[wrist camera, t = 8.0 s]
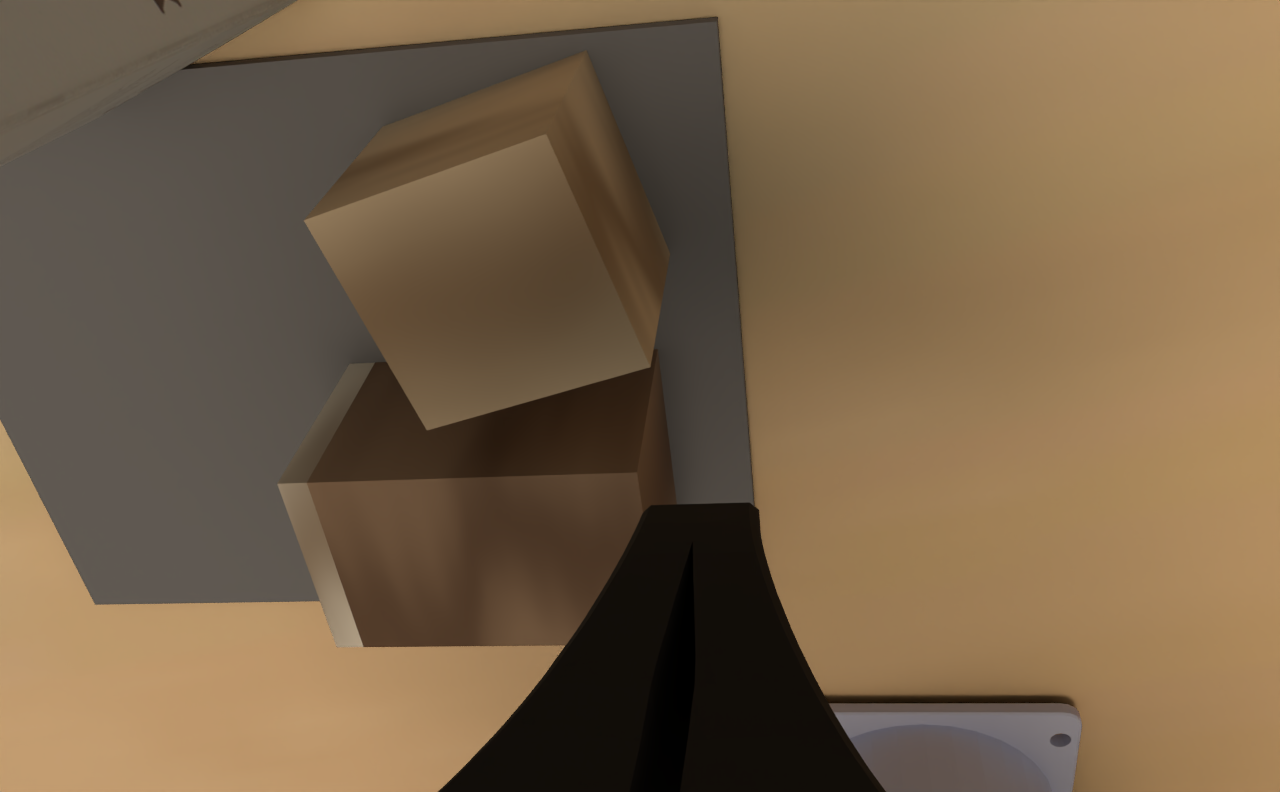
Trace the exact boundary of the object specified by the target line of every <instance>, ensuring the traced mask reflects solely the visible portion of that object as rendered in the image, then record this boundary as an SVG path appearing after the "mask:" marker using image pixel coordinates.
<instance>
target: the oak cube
mask: <svg viewBox="0 0 1280 792" xmlns="http://www.w3.org/2000/svg"><path fill="white" fill-rule="evenodd" d="M304 222H305V224H306V225H307V227H308V229H309V230H310V232H311V234H312V235H313V237H314V239H315V241H316V242H317V244H318V246H319V247H320V249H321V251H322V253H323V254H324V256H325V258H326V259H327V261H328V263H329V264H330V266H331V268H332V270H333V271H334V273H335V275H336V276H337V278H338V280H339V281H340V283H341V285H342V287H343V288H344V290H345V292H346V293H347V295H348V297H349V299H350V300H351V302H352V304H353V305H354V307H355V309H356V310H357V312H358V314H359V316H360V317H361V319H362V321H363V322H364V324H365V326H366V328H367V329H368V331H369V333H370V334H371V336H372V338H373V339H374V341H375V343H376V345H377V346H378V348H379V350H380V351H381V353H382V355H383V356H384V358H385V360H386V362H387V363H388V365H389V367H390V368H391V370H392V372H393V374H394V375H395V377H396V379H397V380H398V382H399V384H400V385H401V387H402V389H403V391H404V392H405V394H406V396H407V397H408V399H409V401H410V403H411V404H412V406H413V408H414V409H415V411H416V413H417V414H418V416H419V418H420V420H421V421H422V423H423V425H424V426H425V428H426V430H431V429H434V428H438V427H441V426H445V425H448V424H452V423H455V422H459V421H462V420H466V419H469V418H473V417H476V416H480V415H483V414H487V413H490V412H494V411H497V410H501V409H505V408H508V407H512V406H515V405H519V404H522V403H526V402H529V401H533V400H536V399H540V398H543V397H547V396H550V395H554V394H557V393H561V392H564V391H568V390H572V389H575V388H579V387H582V386H586V385H589V384H593V383H596V382H600V381H603V380H607V379H610V378H614V377H617V376H621V375H624V374H628V373H631V372H635V371H639V370H642V369H646V368H649V367H651V361H652V355H653V350H654V344H655V338H656V332H657V327H658V321H659V315H660V310H661V304H662V298H663V292H664V287H665V281H666V275H667V269H668V264H669V258H670V252H669V249H668V247H667V245H666V242H665V240H664V237H663V235H662V232H661V230H660V228H659V225H658V223H657V220H656V218H655V215H654V213H653V211H652V208H651V206H650V203H649V201H648V198H647V196H646V194H645V191H644V189H643V186H642V184H641V181H640V179H639V177H638V174H637V172H636V169H635V167H634V164H633V162H632V160H631V157H630V155H629V152H628V150H627V147H626V145H625V143H624V140H623V138H622V135H621V133H620V130H619V128H618V126H617V123H616V121H615V118H614V116H613V113H612V111H611V109H610V106H609V104H608V101H607V99H606V96H605V94H604V92H603V89H602V87H601V84H600V82H599V79H598V77H597V75H596V72H595V70H594V67H593V65H592V62H591V60H590V58H589V55H588V53H587V50H585V51H583V52H580V53H577V54H575V55H572V56H569V57H567V58H564V59H561V60H559V61H556V62H553V63H551V64H548V65H545V66H543V67H540V68H537V69H535V70H532V71H529V72H527V73H524V74H521V75H519V76H516V77H513V78H511V79H508V80H505V81H503V82H500V83H498V84H495V85H492V86H490V87H487V88H484V89H482V90H479V91H476V92H474V93H471V94H468V95H466V96H463V97H460V98H458V99H455V100H452V101H450V102H447V103H444V104H442V105H439V106H436V107H434V108H431V109H428V110H426V111H423V112H420V113H418V114H415V115H412V116H410V117H407V118H404V119H402V120H399V121H396V122H394V123H391V124H388V125H386V126H383V127H382V128H381V129H380V130H379V131H378V132H377V134H376V135H375V136H374V137H373V138H372V140H371V141H370V142H369V143H368V144H367V146H366V147H365V148H364V149H363V150H362V152H361V153H360V154H359V155H358V156H357V157H356V159H355V160H354V161H353V162H352V163H351V165H350V166H349V167H348V168H347V169H346V171H345V172H344V173H343V174H342V175H341V177H340V178H339V179H338V180H337V181H336V183H335V184H334V185H333V186H332V187H331V189H330V190H329V191H328V192H327V193H326V194H325V196H324V197H323V198H322V199H321V200H320V202H319V203H318V204H317V205H316V206H315V208H314V209H313V210H312V211H311V212H310V214H309V215H308V216H307V217H306V218H305V220H304Z"/></svg>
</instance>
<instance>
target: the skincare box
mask: <svg viewBox="0 0 1280 792" xmlns="http://www.w3.org/2000/svg"><path fill="white" fill-rule="evenodd" d="M295 1H297V0H0V166H2V165H4V164H6V163H8V162H10V161H12V160H14V159H16V158H18V157H20V156H22V155H24V154H26V153H28V152H30V151H32V150H34V149H36V148H38V147H40V146H42V145H44V144H46V143H48V142H50V141H52V140H54V139H56V138H58V137H60V136H63V135H65V134H67V133H69V132H71V131H73V130H75V129H77V128H79V127H81V126H83V125H85V124H86V123H88V122H90V121H92V120H94V119H96V118H98V117H100V116H102V115H104V114H106V113H107V112H109V111H111V110H112V109H114V108H116V107H117V106H119V105H121V104H123V103H124V102H126V101H128V100H129V99H131V98H133V97H135V96H136V95H138V94H140V93H141V92H143V91H145V90H146V89H148V88H150V87H152V86H153V85H155V84H157V83H158V82H160V81H162V80H164V79H165V78H167V77H169V76H170V75H172V74H174V73H176V72H177V71H179V70H181V69H182V68H184V67H186V66H188V65H189V64H191V63H193V62H194V61H196V60H198V59H200V58H201V57H203V56H205V55H206V54H208V53H210V52H212V51H213V50H215V49H217V48H218V47H220V46H222V45H224V44H225V43H227V42H229V41H230V40H232V39H234V38H235V37H237V36H239V35H240V34H242V33H244V32H245V31H247V30H249V29H250V28H252V27H254V26H255V25H257V24H259V23H260V22H262V21H264V20H265V19H267V18H269V17H270V16H272V15H274V14H275V13H277V12H279V11H280V10H282V9H284V8H285V7H287V6H289V5H290V4H292V3H294V2H295Z"/></svg>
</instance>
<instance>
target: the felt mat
mask: <svg viewBox="0 0 1280 792" xmlns="http://www.w3.org/2000/svg"><path fill="white" fill-rule="evenodd" d="M585 50H587V53H588V55H589V58H590V60H591V62H592V65H593V67H594V70H595V72H596V75H597V77H598V79H599V82H600V84H601V87H602V89H603V92H604V94H605V96H606V99H607V101H608V104H609V106H610V109H611V111H612V113H613V116H614V118H615V121H616V123H617V126H618V128H619V130H620V133H621V135H622V138H623V140H624V143H625V145H626V147H627V150H628V152H629V155H630V157H631V160H632V162H633V164H634V167H635V169H636V172H637V174H638V177H639V179H640V181H641V184H642V186H643V189H644V191H645V194H646V196H647V198H648V201H649V203H650V206H651V208H652V211H653V213H654V215H655V218H656V220H657V223H658V225H659V228H660V230H661V232H662V235H663V237H664V240H665V242H666V245H667V247H668V249H669V252H670V258H669V264H668V269H667V275H666V281H665V287H664V292H663V298H662V304H661V310H660V315H659V321H658V327H657V332H656V338H655V344H654V349H658V355H659V363H660V371H661V379H662V387H663V395H664V404H665V412H666V420H667V428H668V436H669V444H670V452H671V461H672V469H673V477H674V485H675V493H676V501H677V504H709V503H746V502H749V503H751V504H752V505H753V506H754V493H753V480H752V467H751V453H750V440H749V427H748V414H747V400H746V387H745V374H744V361H743V347H742V334H741V321H740V308H739V294H738V281H737V268H736V255H735V241H734V228H733V215H732V202H731V189H730V175H729V162H728V149H727V136H726V122H725V109H724V96H723V83H722V69H721V56H720V43H719V30H718V17H712V18H701V19H690V20H679V21H668V22H657V23H646V24H635V25H624V26H613V27H602V28H591V29H580V30H569V31H558V32H547V33H536V34H525V35H514V36H503V37H492V38H481V39H470V40H459V41H448V42H437V43H426V44H415V45H404V46H393V47H382V48H371V49H360V50H349V51H338V52H327V53H316V54H305V55H294V56H283V57H272V58H261V59H250V60H239V61H228V62H217V63H206V64H195V65H188V66H186V67H184V68H182V69H181V70H179V71H177V72H176V73H174V74H172V75H170V76H169V77H167V78H165V79H164V80H162V81H160V82H158V83H157V84H155V85H153V86H152V87H150V88H148V89H146V90H145V91H143V92H141V93H140V94H138V95H136V96H135V97H133V98H131V99H129V100H128V101H126V102H124V103H123V104H121V105H119V106H117V107H116V108H114V109H112V110H111V111H109V112H107V113H106V114H104V115H102V116H100V117H98V118H96V119H94V120H92V121H90V122H88V123H86V124H85V125H83V126H81V127H79V128H77V129H75V130H73V131H71V132H69V133H67V134H65V135H63V136H60V137H58V138H56V139H54V140H52V141H50V142H48V143H46V144H44V145H42V146H40V147H38V148H36V149H34V150H32V151H30V152H28V153H26V154H24V155H22V156H20V157H18V158H16V159H14V160H12V161H10V162H8V163H6V164H4V165H2V166H0V420H1V422H2V424H3V426H4V428H5V430H6V432H7V434H8V435H9V437H10V439H11V441H12V443H13V445H14V447H15V449H16V451H17V453H18V455H19V457H20V459H21V461H22V463H23V465H24V467H25V469H26V471H27V472H28V474H29V476H30V478H31V480H32V482H33V484H34V486H35V488H36V490H37V492H38V494H39V496H40V498H41V500H42V502H43V504H44V506H45V508H46V510H47V511H48V513H49V515H50V517H51V519H52V521H53V523H54V525H55V527H56V529H57V531H58V533H59V535H60V537H61V539H62V541H63V543H64V545H65V547H66V548H67V550H68V552H69V554H70V556H71V558H72V560H73V562H74V564H75V566H76V568H77V570H78V572H79V574H80V576H81V578H82V580H83V582H84V584H85V586H86V587H87V589H88V591H89V593H90V595H91V597H92V599H93V601H94V603H95V605H97V604H163V603H229V602H296V601H320V600H319V597H318V594H317V592H316V589H315V586H314V583H313V581H312V578H311V575H310V572H309V570H308V567H307V564H306V561H305V559H304V556H303V553H302V550H301V548H300V545H299V542H298V540H297V537H296V534H295V531H294V529H293V526H292V523H291V520H290V518H289V515H288V512H287V509H286V507H285V504H284V501H283V498H282V496H281V493H280V490H279V487H278V485H277V483H278V482H279V480H280V478H281V477H282V475H283V473H284V472H285V470H286V468H287V467H288V465H289V463H290V462H291V460H292V458H293V457H294V455H295V453H296V452H297V450H298V448H299V447H300V445H301V443H302V442H303V440H304V438H305V437H306V435H307V433H308V432H309V430H310V429H311V427H312V425H313V424H314V422H315V420H316V419H317V417H318V415H319V414H320V412H321V410H322V409H323V407H324V405H325V404H326V402H327V400H328V399H329V397H330V395H331V394H332V392H333V390H334V389H335V387H336V385H337V384H338V382H339V380H340V379H341V377H342V375H343V374H344V372H345V370H346V369H347V367H348V365H349V364H355V363H376V362H386V360H385V358H384V356H383V355H382V353H381V351H380V350H379V348H378V346H377V345H376V343H375V341H374V339H373V338H372V336H371V334H370V333H369V331H368V329H367V328H366V326H365V324H364V322H363V321H362V319H361V317H360V316H359V314H358V312H357V310H356V309H355V307H354V305H353V304H352V302H351V300H350V299H349V297H348V295H347V293H346V292H345V290H344V288H343V287H342V285H341V283H340V281H339V280H338V278H337V276H336V275H335V273H334V271H333V270H332V268H331V266H330V264H329V263H328V261H327V259H326V258H325V256H324V254H323V253H322V251H321V249H320V247H319V246H318V244H317V242H316V241H315V239H314V237H313V235H312V234H311V232H310V230H309V229H308V227H307V225H306V224H305V222H304V220H305V218H306V217H307V216H308V215H309V214H310V212H311V211H312V210H313V209H314V208H315V206H316V205H317V204H318V203H319V202H320V200H321V199H322V198H323V197H324V196H325V194H326V193H327V192H328V191H329V190H330V189H331V187H332V186H333V185H334V184H335V183H336V181H337V180H338V179H339V178H340V177H341V175H342V174H343V173H344V172H345V171H346V169H347V168H348V167H349V166H350V165H351V163H352V162H353V161H354V160H355V159H356V157H357V156H358V155H359V154H360V153H361V152H362V150H363V149H364V148H365V147H366V146H367V144H368V143H369V142H370V141H371V140H372V138H373V137H374V136H375V135H376V134H377V132H378V131H379V130H380V129H381V128H382V127H383V126H386V125H388V124H391V123H394V122H396V121H399V120H402V119H404V118H407V117H410V116H412V115H415V114H418V113H420V112H423V111H426V110H428V109H431V108H434V107H436V106H439V105H442V104H444V103H447V102H450V101H452V100H455V99H458V98H460V97H463V96H466V95H468V94H471V93H474V92H476V91H479V90H482V89H484V88H487V87H490V86H492V85H495V84H498V83H500V82H503V81H505V80H508V79H511V78H513V77H516V76H519V75H521V74H524V73H527V72H529V71H532V70H535V69H537V68H540V67H543V66H545V65H548V64H551V63H553V62H556V61H559V60H561V59H564V58H567V57H569V56H572V55H575V54H577V53H580V52H583V51H585Z"/></svg>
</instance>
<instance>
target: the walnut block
mask: <svg viewBox="0 0 1280 792" xmlns="http://www.w3.org/2000/svg"><path fill="white" fill-rule="evenodd" d="M277 485H278V487H279V490H280V493H281V496H282V498H283V501H284V504H285V507H286V509H287V512H288V515H289V518H290V520H291V523H292V526H293V529H294V531H295V534H296V537H297V540H298V542H299V545H300V548H301V550H302V553H303V556H304V559H305V561H306V564H307V567H308V570H309V572H310V575H311V578H312V581H313V583H314V586H315V589H316V592H317V594H318V597H319V600H320V603H321V605H322V608H323V611H324V614H325V616H326V619H327V622H328V625H329V627H330V630H331V633H332V636H333V638H334V641H335V644H336V646H337V647H422V646H538V645H566V644H567V643H568V642H569V640H570V639H571V637H572V636H573V635H574V633H575V632H576V630H577V629H578V627H579V626H580V624H581V623H582V621H583V620H584V618H585V617H586V615H587V613H588V612H589V610H590V609H591V607H592V605H593V604H594V602H595V601H596V599H597V597H598V596H599V594H600V593H601V591H602V589H603V588H604V586H605V584H606V583H607V581H608V579H609V578H610V576H611V574H612V572H613V571H614V569H615V567H616V565H617V564H618V562H619V560H620V558H621V556H622V555H623V553H624V551H625V549H626V547H627V545H628V543H629V541H630V539H631V537H632V535H633V533H634V531H635V529H636V527H637V525H638V523H639V520H640V518H641V516H642V514H643V512H644V511H645V510H646V509H647V508H648V507H649V506H651V505H672V504H677V501H676V493H675V485H674V477H673V469H672V461H671V452H670V444H669V436H668V428H667V420H666V412H665V404H664V395H663V387H662V379H661V371H660V363H659V355H658V349H654V350H653V355H652V361H651V367H649V368H646V369H642V370H639V371H635V372H631V373H628V374H624V375H621V376H617V377H614V378H610V379H607V380H603V381H600V382H596V383H593V384H589V385H586V386H582V387H579V388H575V389H572V390H568V391H564V392H561V393H557V394H554V395H550V396H547V397H543V398H540V399H536V400H533V401H529V402H526V403H522V404H519V405H515V406H512V407H508V408H505V409H501V410H497V411H494V412H490V413H487V414H483V415H480V416H476V417H473V418H469V419H466V420H462V421H459V422H455V423H452V424H448V425H445V426H441V427H438V428H434V429H431V430H426V428H425V426H424V425H423V423H422V421H421V420H420V418H419V416H418V414H417V413H416V411H415V409H414V408H413V406H412V404H411V403H410V401H409V399H408V397H407V396H406V394H405V392H404V391H403V389H402V387H401V385H400V384H399V382H398V380H397V379H396V377H395V375H394V374H393V372H392V370H391V368H390V367H389V365H388V363H387V362H376V363H355V364H349V365H348V367H347V369H346V370H345V372H344V374H343V375H342V377H341V379H340V380H339V382H338V384H337V385H336V387H335V389H334V390H333V392H332V394H331V395H330V397H329V399H328V400H327V402H326V404H325V405H324V407H323V409H322V410H321V412H320V414H319V415H318V417H317V419H316V420H315V422H314V424H313V425H312V427H311V429H310V430H309V432H308V433H307V435H306V437H305V438H304V440H303V442H302V443H301V445H300V447H299V448H298V450H297V452H296V453H295V455H294V457H293V458H292V460H291V462H290V463H289V465H288V467H287V468H286V470H285V472H284V473H283V475H282V477H281V478H280V480H279V482H278V483H277Z"/></svg>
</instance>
